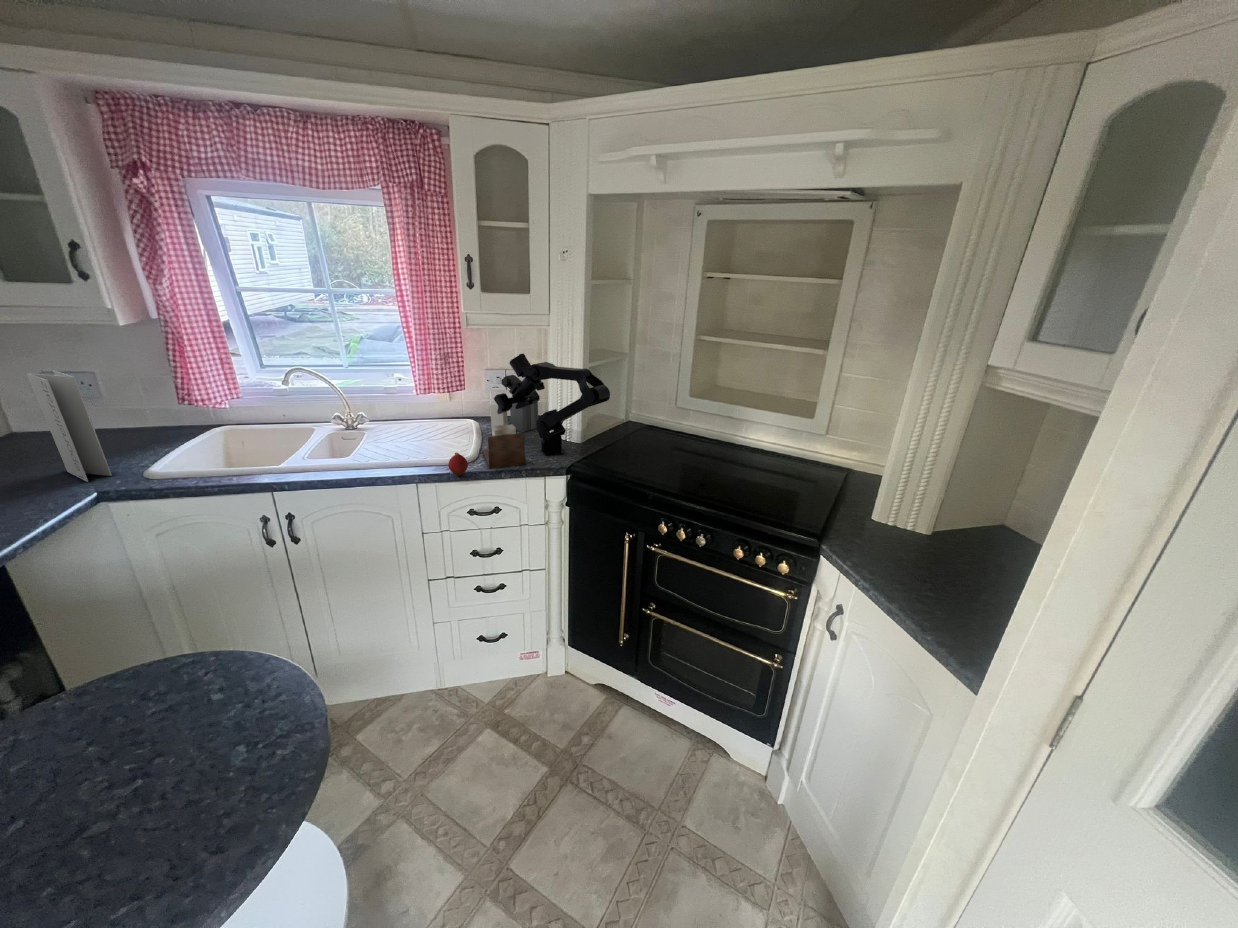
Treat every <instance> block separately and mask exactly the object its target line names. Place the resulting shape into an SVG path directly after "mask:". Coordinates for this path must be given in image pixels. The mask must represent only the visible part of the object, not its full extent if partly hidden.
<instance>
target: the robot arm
mask: <svg viewBox="0 0 1238 928" xmlns="http://www.w3.org/2000/svg"><path fill="white" fill-rule="evenodd" d="M508 364H509V366H510V367H511V369H512V371H514V373H515V374H516V375H515V374H509V375H505V376H504V377H503V378H502V379H501V382H500V384H501V385H502V386H503V387H504V388H508V389H509V390H508V392H509V394H510V395H511V397H509V396H508V395H507V393H505V392H502V393H498V394H496V395H495V396H494V397H493V401H494V402H495V404H496V405H497V406H498V410H497V413H498V414H502V413H504V412H507V413H508V412H510V409H511V408H512V404H515V403H517V405H516V407H515V408H516V409H520V408H522V407H525V406H528V405H531V404H534V403H536V402H538V403H539V401H540V394H539V393H538V392H539V391H542V390H545V389H546V387H545V385H544V384H545V382H544V380H551V379H554V380H565V381H573V382H576V383H577V385H578V388H579V391H580V394H581V395H580V397H579V398H577V399H576V400H574V401H572V402H571V403H569V404H568V405H566V406H564V407H563V408H561V409H559V410H557V408H555V409H551V410H547V411H545V412H543V414H540V415H538V419H537V421H536V422H537V423H536V426H537V428H536V431H537V433H538V437H539V439H541V442H540V443H541V451H542V453H543V454H544V455H545V456H555V455H563V454H564V451H563V447H562V446H563V444H562V442H563V438H562V437H563V436H564V435H566V431H567V429H566V428H565V426H564V425H563V423H564V422H565V421H567V420H569V419H570V418H571V417H573V416H575V415H576V414H577V415H578V413H581V412H582V411H584V410H586V409H588V408H591V407H593V406H597V405H600V404H603V403H606V402H608V401H609V400H610V399H611V392H610V388H609V387H608V386H607V385H605V383H604V382H603V381H602V380H601V379H600V378H599V377H597V376H596V375H594V374H593V372H592V371H591V370H590V369H588V368H577V367H567V366H557V365H555V364H554V363H552V362H549V361H543V362H537V363H531V362H530V361H529V359H528V358H527V356H526V355H525V353H519V354H518V355H517V356H514V358H512V359H510V360H509V363H508ZM520 378H521V379H522V378H523V379H522V380H521V379H520ZM588 384H589V385H590V386H592V387H590V386H589V385H588Z"/></svg>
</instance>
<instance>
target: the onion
mask: <svg viewBox="0 0 1238 928" xmlns="http://www.w3.org/2000/svg"><path fill="white" fill-rule="evenodd" d="M468 467H469V462H468V460H467V458H466V457H465V456H464V455H462V454H460V453H459V452H457V451H456V452H454V455H453V456H451V457H450V459H449V461H448V469H449V470H450V472H451V473H453V474H454V475H456V476H457V477H461V476H462V475H463V474H464V473H466V471H467V470H468Z"/></svg>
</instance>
